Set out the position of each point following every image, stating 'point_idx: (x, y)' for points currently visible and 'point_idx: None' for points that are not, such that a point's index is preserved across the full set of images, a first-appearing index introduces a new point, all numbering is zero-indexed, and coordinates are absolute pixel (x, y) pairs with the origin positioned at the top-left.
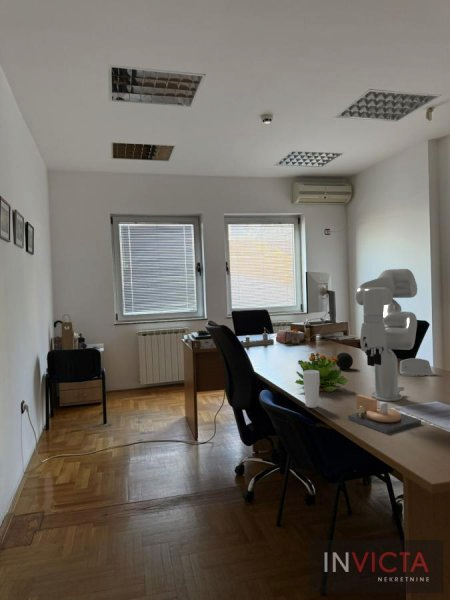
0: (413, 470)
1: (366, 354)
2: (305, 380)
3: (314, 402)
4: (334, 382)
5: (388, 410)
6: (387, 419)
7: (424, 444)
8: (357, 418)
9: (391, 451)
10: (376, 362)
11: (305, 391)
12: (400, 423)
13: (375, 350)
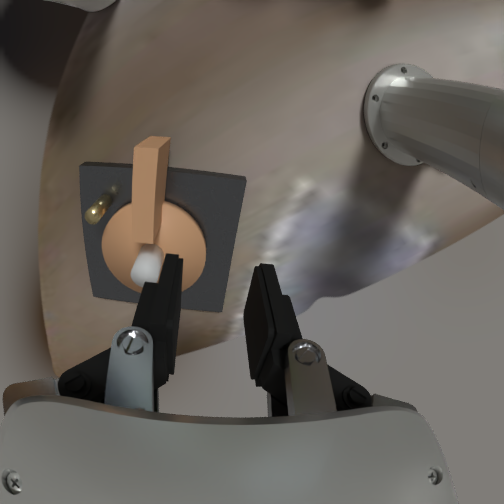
0: (53, 359)
1: (115, 343)
2: None
3: (81, 8)
4: None
5: (192, 246)
6: (124, 283)
7: None
8: (83, 203)
9: (56, 326)
10: (252, 298)
11: None
12: None
13: (286, 388)
